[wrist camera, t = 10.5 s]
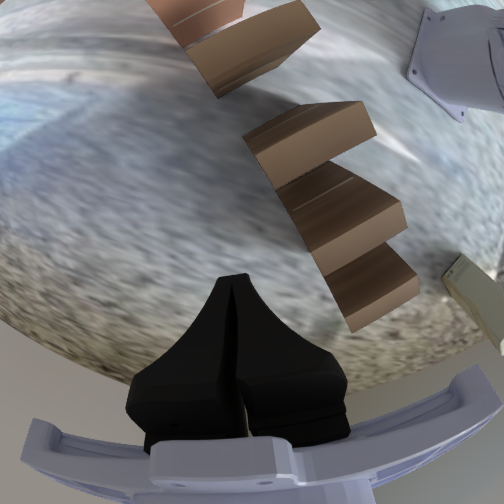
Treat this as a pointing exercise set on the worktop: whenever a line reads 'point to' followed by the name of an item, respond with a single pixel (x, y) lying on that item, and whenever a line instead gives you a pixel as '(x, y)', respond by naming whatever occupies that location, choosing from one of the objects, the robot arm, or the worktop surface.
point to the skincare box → (478, 298)
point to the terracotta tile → (195, 16)
